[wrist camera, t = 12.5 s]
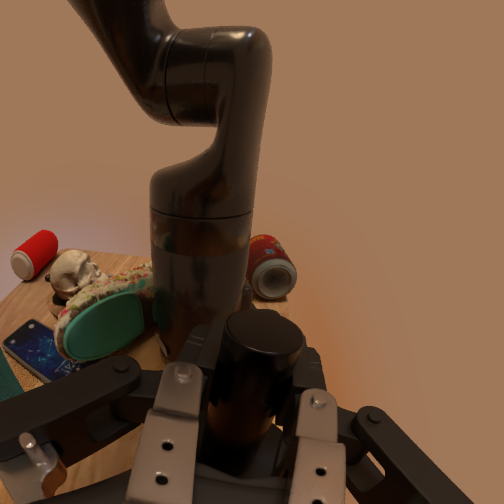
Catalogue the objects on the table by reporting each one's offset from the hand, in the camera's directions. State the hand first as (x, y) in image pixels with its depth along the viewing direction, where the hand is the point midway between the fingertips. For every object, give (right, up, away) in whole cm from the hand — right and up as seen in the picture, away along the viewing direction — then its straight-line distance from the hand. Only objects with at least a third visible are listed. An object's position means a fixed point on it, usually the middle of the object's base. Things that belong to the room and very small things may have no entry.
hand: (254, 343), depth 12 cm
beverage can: (-40, +1, +23) cm, 46 cm away
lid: (-1, -6, -1) cm, 7 cm away
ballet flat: (-11, -3, +18) cm, 21 cm away
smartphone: (-24, -8, +13) cm, 29 cm away
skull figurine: (-25, -3, +24) cm, 35 cm away
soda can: (-1, 0, +39) cm, 39 cm away
